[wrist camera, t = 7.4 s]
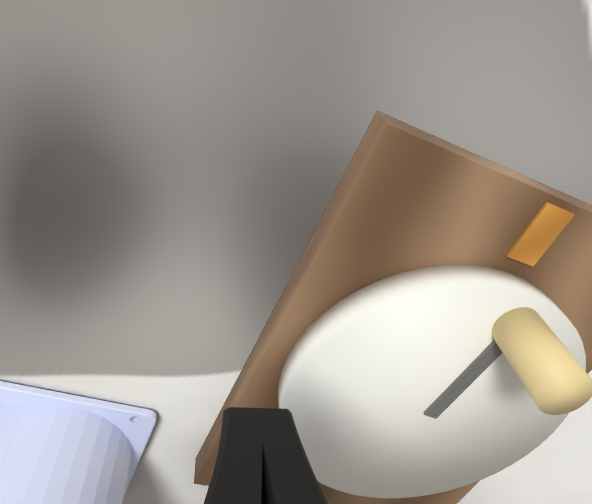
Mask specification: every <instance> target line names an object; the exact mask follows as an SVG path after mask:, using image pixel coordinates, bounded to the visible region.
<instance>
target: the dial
mask: <svg viewBox="0 0 592 504" xmlns="http://www.w3.org/2000/svg"><path fill="white" fill-rule="evenodd" d="M585 371H586V355H585V350H584V346H583V342H582V340H581V338H580V336H579V333H578V331H577V330H576V328H575V327H574V326H573V324H572V323H571V322H570V320H569V319H568V318H567V317H566V316H565V315H564V313H563V312H562V311H561V310H560V309H559V308H558V307H557V305H556V304H555V303H554V302H553V301H552V300H551V299H550V297H549V296H548V295H546V294H545V293H544V292H543V291H542V290H541V289H540V288H538V287H537V286H536V285H534V284H532V283H531V282H529V281H527V280H526V279H524V278H522V277H520V276H517V275H515V274H512V273H510V272H507V271H503V270H499V269H495V268H491V267H485V266H476V265H441V266H433V267H425V268H420V269H415V270H411V271H407V272H403V273H399V274H396V275H393V276H390V277H387V278H385V279H382V280H379V281H377V282H374V283H372V284H370V285H368V286H366V287H364V288H361V289H359V290H357V291H356V292H354V293H352V294H351V295H349V296H347V297H346V298H344V299H342V300H341V301H339V302H338V303H336V304H335V305H334V306H332V307H331V308H330V309H328V310H327V311H326V312H324V313H323V314H322V315H321V316H320V317H319V318H318V319H317V320H316V321H315V322H313V323H312V324H311V325H310V326H309V327H308V328H307V330H306V331H305V332H304V333H303V334H302V336H301V337H300V338H299V339H298V341H297V342H296V344H295V345H294V347H293V348H292V350H291V352H290V353H289V355H288V357H287V359H286V361H285V364H284V366H283V368H282V371H281V375H280V380H279V384H278V407H279V408H281V409H288V410H289V411H290V412H291V413H292V416H293V420H294V423H295V426H296V429H297V432H298V434H299V437H300V440H301V443H302V445H303V448H304V450H305V453H306V455H307V458H308V460H309V463H310V465H311V468H312V470H313V472H314V475H315V477H316V479H317V481H318V482H320V483H322V484H323V485H326V486H328V487H331V488H333V489H335V490H338V491H342V492H345V493H349V494H353V495H359V496H364V497H374V498H408V497H418V496H425V495H431V494H436V493H440V492H445V491H449V490H452V489H456V488H459V487H463V486H466V485H468V484H471V483H474V482H477V481H479V480H482V479H484V478H486V477H488V476H491V475H493V474H495V473H497V472H499V471H501V470H503V469H504V468H506V467H508V466H510V465H512V464H513V463H515V462H516V461H518V460H520V459H521V458H523V457H524V456H526V455H527V454H528V453H530V452H531V451H532V450H534V449H535V448H536V447H538V446H539V445H540V444H541V443H542V442H543V441H544V440H546V439H547V438H548V437H549V436H550V435H551V434H552V433H553V432H554V431H555V430H556V428H557V427H558V426H559V425H560V424H561V423H562V422H563V420H564V419H565V418H566V416H567V415H568V413H569V412H571V411H574V410H576V409H578V408H579V407H581V406H582V405H584V404H585V403H586V402H587V401H588V400H589V399H590V398H591V397H592V379H591V378H590V377H589V375H588V374H587V373H586V372H585Z"/></svg>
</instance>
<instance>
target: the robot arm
mask: <svg viewBox="0 0 592 504" xmlns="http://www.w3.org/2000/svg"><path fill="white" fill-rule="evenodd" d="M135 416H137V417H135ZM156 418H157V415H156V413H155V412H154V411H152V410H149V409H144V408H139V407H134V406H128V405H123V404H118V403H113V402H108V401H102V400H97V399H92V398H87V397H81V396H76V395H71V394H66V393H61V392H55V391H50V390H45V389H40V388H35V387H29V386H24V385H19V384H14V383H9V382H3V381H0V504H123V499H124V495H125V493H126V490H127V488H128V486H129V483H130V481H131V479H132V476H133V474H134V472H135V470H136V467H137V465H138V463H139V460H140V458H141V456H142V453H143V451H144V449H145V446H146V444H147V442H148V440H149V437H150V435H151V433H152V430H153V428H154V426H155V423H156ZM204 504H328V503H327V501H326V499H325V497H324V495H323V492H322V490H321V488H320V486H319V484H318V481H317V479H316V477H315V475H314V472H313V470H312V468H311V465H310V463H309V460H308V458H307V455H306V453H305V450H304V448H303V445H302V443H301V440H300V437H299V434H298V432H297V429H296V426H295V423H294V420H293V416H292V413H291V412H290V411H289V410H288V409H281V408H242V407H229V408H227V409H226V410H224V411H223V417H222V425H221V433H220V440H219V448H218V455H217V459H216V463H215V467H214V471H213V475H212V478H211V481H210V485H209V488H208V491H207V495H206V498H205V501H204Z"/></svg>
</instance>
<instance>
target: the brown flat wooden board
mask: <svg viewBox="0 0 592 504" xmlns="http://www.w3.org/2000/svg"><path fill="white" fill-rule="evenodd" d="M441 265H476V266H485V267H491V268H495V269H499V270H503V271H507V272H510V273H512V274H515V275H517V276H520V277H522V278H524V279H526V280H527V281H529V282H531V283H532V284H534V285H536V286H537V287H538V288H540V289H541V290H542V291H543V292H544V293H545V294H546V295H548V296H549V297H550V299H551V300H552V301H553V302H554V303H555V304H556V305H557V307H558V308H559V309H560V310H561V311H562V312H563V313H564V315H565V316H566V317H567V318H568V319H569V320H570V322H571V323H572V324H573V326H574V327H575V328H576V330H577V331H578V333H579V336H580V338H581V340H582V342H583V346H584V350H585V355H586V371H585V372H586V373H587V374H588V373H589V372H590V371H591V370H592V205H589V204H587V203H585V202H583V201H580V200H578V199H576V198H574V197H572V196H569V195H567V194H565V193H562V192H560V191H558V190H556V189H553V188H551V187H549V186H546V185H544V184H542V183H540V182H538V181H535V180H533V179H531V178H528V177H526V176H524V175H522V174H519V173H517V172H515V171H513V170H510V169H508V168H506V167H503V166H501V165H499V164H496V163H494V162H492V161H490V160H487V159H485V158H483V157H480V156H479V155H476V154H474V153H472V152H469V151H467V150H465V149H463V148H460V147H458V146H456V145H453V144H451V143H449V142H447V141H445V140H442V139H440V138H438V137H435V136H433V135H431V134H429V133H426V132H424V131H422V130H420V129H417V128H415V127H413V126H410V125H408V124H406V123H404V122H401V121H399V120H397V119H395V118H392V117H390V116H388V115H386V114H383V113H381V112H379V111H377V112H376V114H375V116H374V118H373V120H372V121H371V123H370V126H369V127H368V129H367V131H366V133H365V135H364V137H363V139H362V141H361V143H360V145H359V147H358V148H357V150H356V152H355V154H354V156H353V158H352V160H351V162H350V164H349V166H348V168H347V169H346V171H345V173H344V175H343V177H342V179H341V181H340V183H339V185H338V187H337V189H336V190H335V192H334V194H333V196H332V198H331V200H330V202H329V204H328V206H327V208H326V210H325V212H324V214H323V216H322V217H321V219H320V221H319V223H318V225H317V227H316V229H315V231H314V233H313V235H312V237H311V238H310V240H309V242H308V244H307V246H306V248H305V250H304V252H303V254H302V256H301V258H300V260H299V261H298V263H297V265H296V267H295V269H294V271H293V273H292V275H291V277H290V279H289V281H288V283H287V284H286V286H285V288H284V290H283V292H282V294H281V296H280V298H279V300H278V302H277V304H276V306H275V308H274V310H273V311H272V313H271V315H270V318H269V319H268V321H267V323H266V325H265V327H264V329H263V331H262V332H261V334H260V336H259V338H258V340H257V342H256V344H255V346H254V348H253V350H252V352H251V354H250V355H249V357H248V359H247V361H246V363H245V365H244V367H243V369H242V371H241V373H240V375H239V377H238V378H237V380H236V382H235V384H234V386H233V388H232V390H231V392H230V394H229V396H228V398H227V400H226V401H225V403H224V405H223V407H222V409H221V411H220V413H219V415H218V417H217V419H216V421H215V423H214V425H213V426H212V428H211V430H210V432H209V434H208V436H207V438H206V440H205V442H204V444H203V446H202V448H201V449H200V451H199V453H198V455H197V457H196V464H195V477H194V484H201V485H208V486H209V485H210V481H211V478H212V475H213V471H214V467H215V463H216V459H217V455H218V448H219V440H220V433H221V425H222V417H223V411H224V410H226V409H227V408H229V407H242V408H279V407H278V384H279V380H280V375H281V371H282V368H283V366H284V364H285V361H286V359H287V357H288V355H289V353H290V352H291V350H292V348H293V347H294V345H295V344H296V342H297V341H298V339H299V338H300V337H301V336H302V334H303V333H304V332H305V331H306V330H307V328H308V327H309V326H310V325H311V324H312V323H313V322H315V321H316V320H317V319H318V318H319V317H320V316H321V315H322V314H323V313H324V312H326V311H327V310H328V309H330V308H331V307H332V306H334V305H335V304H336V303H338V302H339V301H341V300H342V299H344V298H346V297H347V296H349V295H351V294H352V293H354V292H356V291H357V290H359V289H361V288H364V287H366V286H368V285H370V284H372V283H374V282H377V281H379V280H382V279H385V278H387V277H390V276H393V275H396V274H399V273H403V272H407V271H411V270H415V269H420V268H425V267H433V266H441ZM479 481H480V480H479ZM479 481H477V482H474V483H471V484H468V485H466V486H463V487H459V488H456V489H452V490H449V491H445V492H440V493H436V494H431V495H425V496H418V497H408V498H374V497H364V496H359V495H353V494H349V493H345V492H342V491H338V490H335V489H333V488H331V487H328V486H326V485H323V484H322V483H320V482H318V484H319V486H320V488H321V490H322V492H323V495H324V497H325V499H326V501H327V503H328V504H457V503H458V502H459V501H460V500H461V499H462V498H463V497H464V496H465V495H466V494H467V493H468V492H469V491H470V490H471V489H472V488H473V487H474V486H475V485H476V484H477V483H478V482H479Z"/></svg>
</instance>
